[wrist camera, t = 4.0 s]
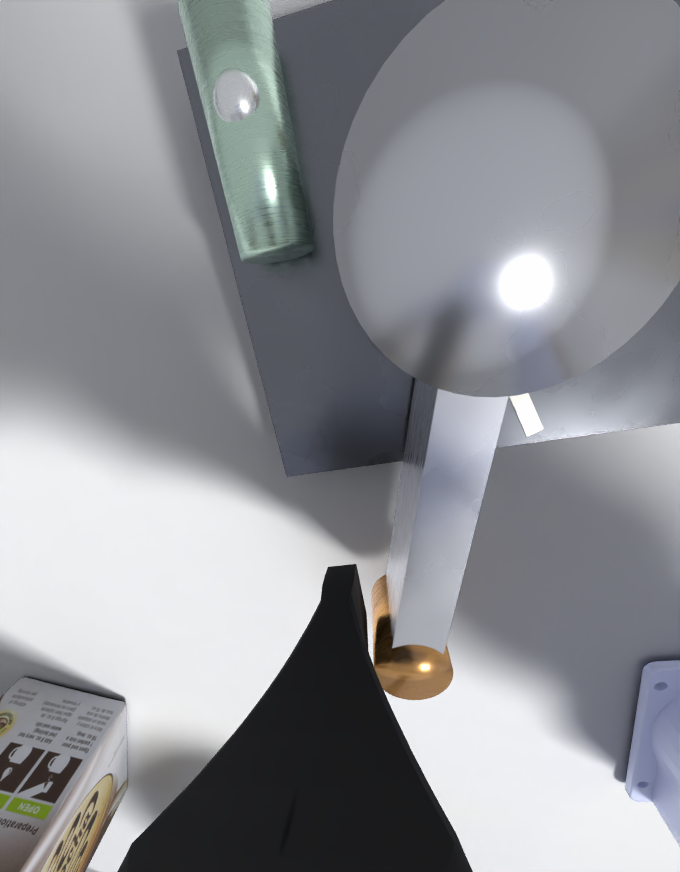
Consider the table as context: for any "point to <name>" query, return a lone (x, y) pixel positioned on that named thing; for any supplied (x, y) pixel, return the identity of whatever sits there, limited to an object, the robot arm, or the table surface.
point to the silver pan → (500, 252)
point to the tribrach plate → (315, 250)
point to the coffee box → (58, 775)
